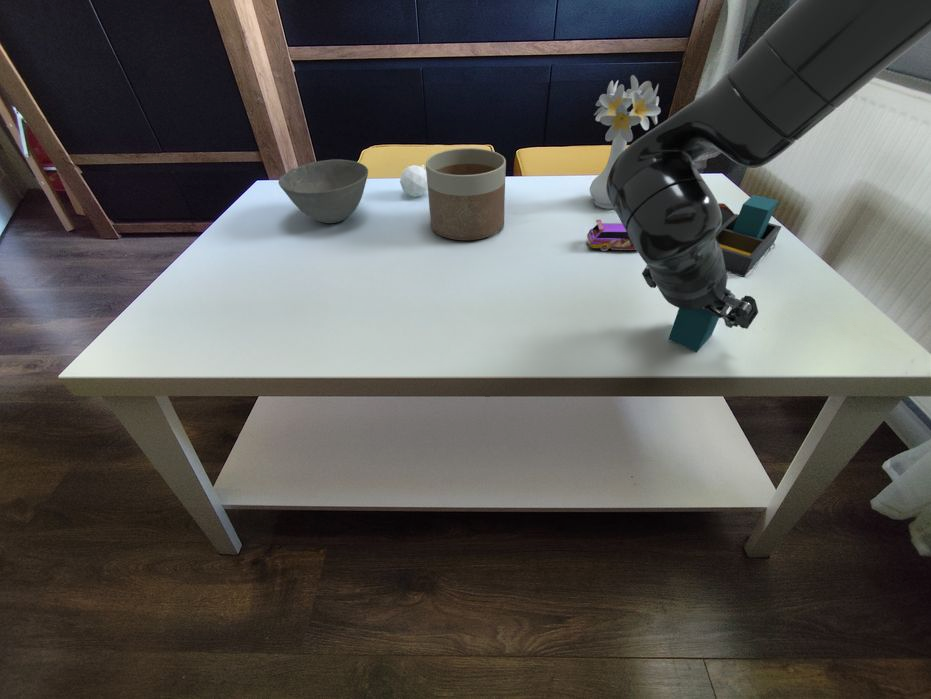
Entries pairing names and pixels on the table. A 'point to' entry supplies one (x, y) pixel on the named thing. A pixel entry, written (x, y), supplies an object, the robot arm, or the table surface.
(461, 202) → the planter
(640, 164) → the robot arm
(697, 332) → the teal block
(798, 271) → the table surface
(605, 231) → the toy car
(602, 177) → the flower vase
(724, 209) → the smartphone
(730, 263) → the dark grey open box
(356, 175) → the bowl
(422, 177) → the ornament
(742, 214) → the teal cuboid
